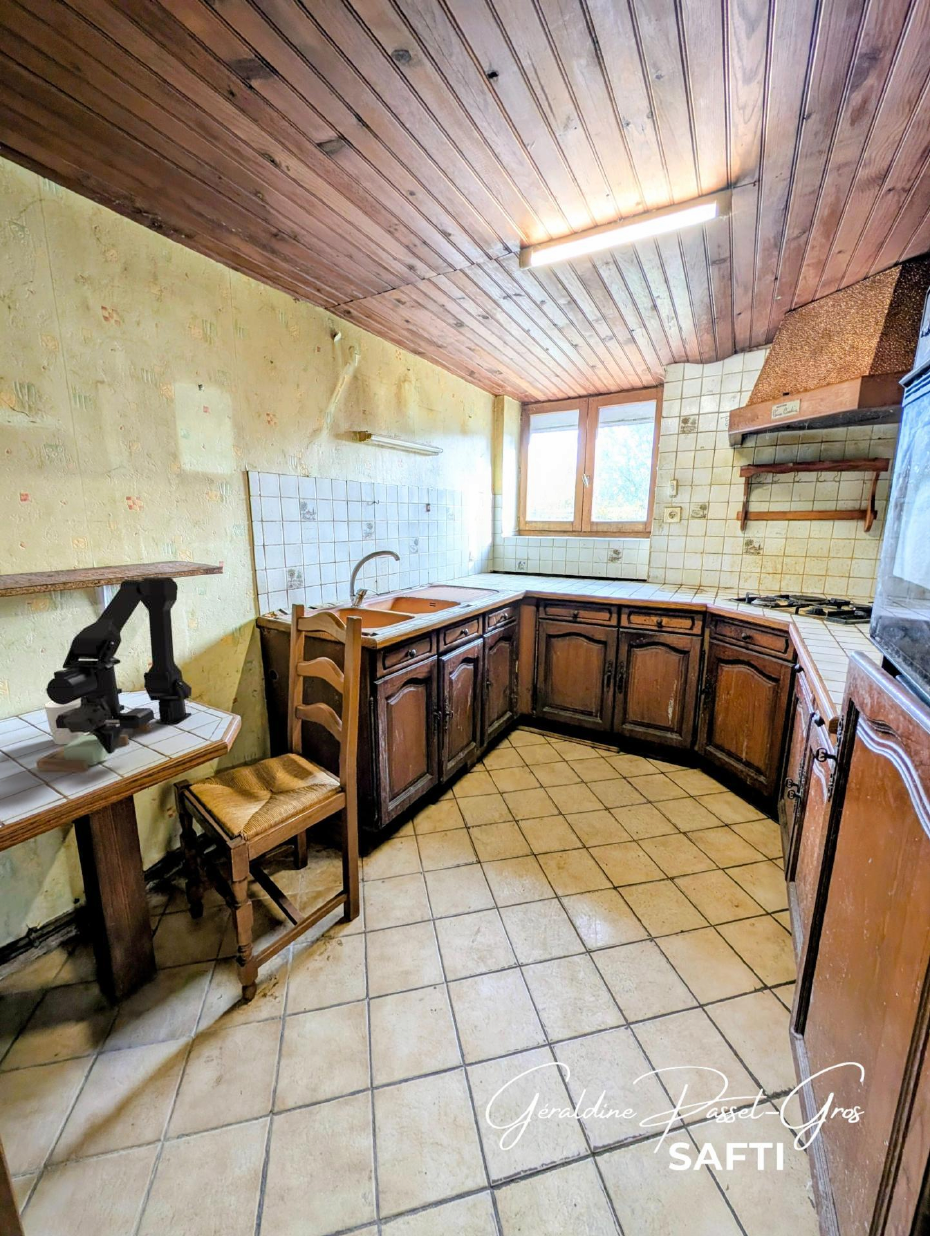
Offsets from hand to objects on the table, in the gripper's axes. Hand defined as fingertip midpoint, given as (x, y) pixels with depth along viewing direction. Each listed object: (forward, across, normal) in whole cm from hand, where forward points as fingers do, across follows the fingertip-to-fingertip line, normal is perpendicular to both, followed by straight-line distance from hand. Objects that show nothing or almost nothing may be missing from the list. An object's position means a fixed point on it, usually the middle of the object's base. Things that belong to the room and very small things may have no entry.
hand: (111, 752), depth 109 cm
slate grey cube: (+2, -6, +11) cm, 12 cm away
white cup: (+2, -18, +10) cm, 21 cm away
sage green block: (+1, -5, 0) cm, 5 cm away
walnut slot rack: (+1, -7, +4) cm, 8 cm away
